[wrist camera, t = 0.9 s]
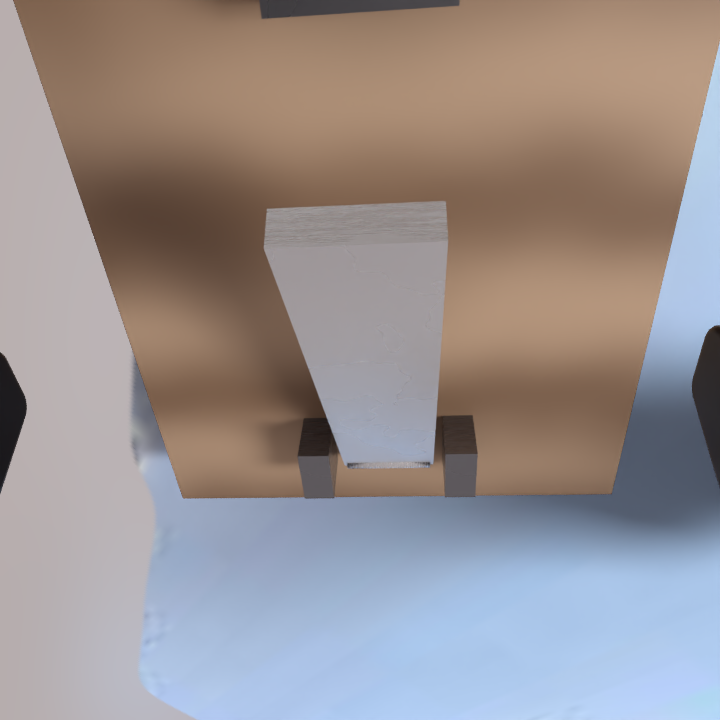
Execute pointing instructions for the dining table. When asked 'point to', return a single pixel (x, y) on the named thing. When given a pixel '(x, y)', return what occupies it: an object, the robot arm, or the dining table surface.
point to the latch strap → (368, 320)
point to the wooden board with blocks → (381, 186)
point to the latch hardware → (316, 433)
